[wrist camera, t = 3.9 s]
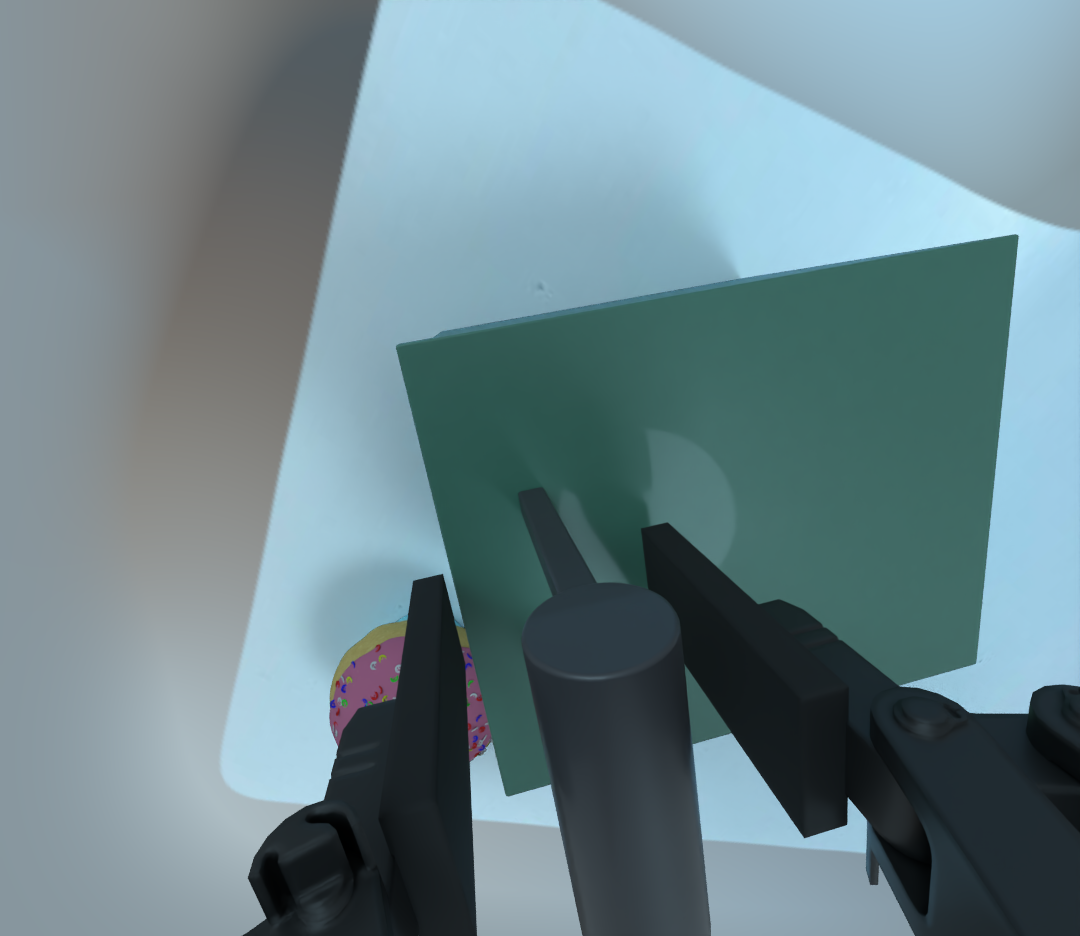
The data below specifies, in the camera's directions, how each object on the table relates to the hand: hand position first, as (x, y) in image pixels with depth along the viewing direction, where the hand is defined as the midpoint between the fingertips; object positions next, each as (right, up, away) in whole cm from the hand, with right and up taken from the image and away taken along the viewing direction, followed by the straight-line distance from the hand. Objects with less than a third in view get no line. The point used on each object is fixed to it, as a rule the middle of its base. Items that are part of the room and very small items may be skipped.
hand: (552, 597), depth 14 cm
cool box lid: (+6, +2, +2) cm, 6 cm away
